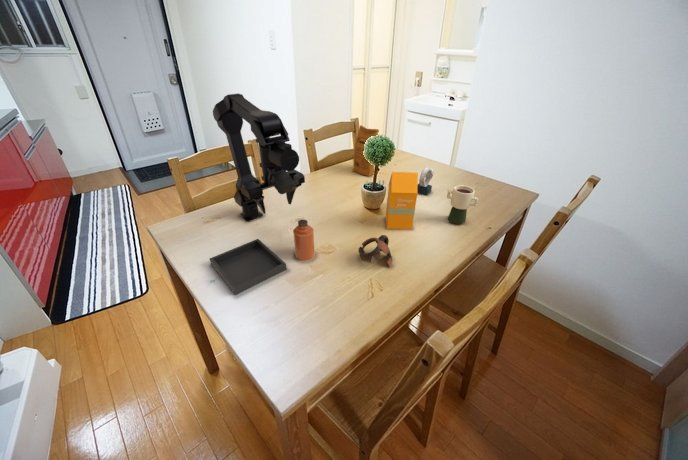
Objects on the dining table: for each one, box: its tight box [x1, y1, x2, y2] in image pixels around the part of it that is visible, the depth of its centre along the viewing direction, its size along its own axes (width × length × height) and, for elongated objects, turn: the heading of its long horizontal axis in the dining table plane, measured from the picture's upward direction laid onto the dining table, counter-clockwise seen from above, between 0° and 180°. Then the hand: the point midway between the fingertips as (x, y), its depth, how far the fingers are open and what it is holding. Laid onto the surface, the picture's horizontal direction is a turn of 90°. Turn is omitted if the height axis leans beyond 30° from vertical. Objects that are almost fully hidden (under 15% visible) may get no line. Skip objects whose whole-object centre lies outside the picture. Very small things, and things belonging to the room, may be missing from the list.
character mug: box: [446, 184, 479, 225], centre depth 109 cm, size 11×7×13 cm, turn 52°
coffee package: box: [352, 124, 380, 177], centre depth 146 cm, size 10×12×22 cm
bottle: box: [292, 219, 316, 262], centre depth 91 cm, size 6×6×12 cm
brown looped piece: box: [358, 234, 393, 268], centre depth 92 cm, size 12×10×8 cm
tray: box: [209, 238, 288, 296], centre depth 88 cm, size 17×16×3 cm
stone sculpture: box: [417, 167, 435, 196], centre depth 130 cm, size 6×8×11 cm
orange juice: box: [385, 171, 419, 230], centre depth 105 cm, size 8×9×20 cm
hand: (277, 208), depth 95 cm, fingers open, 9 cm apart
